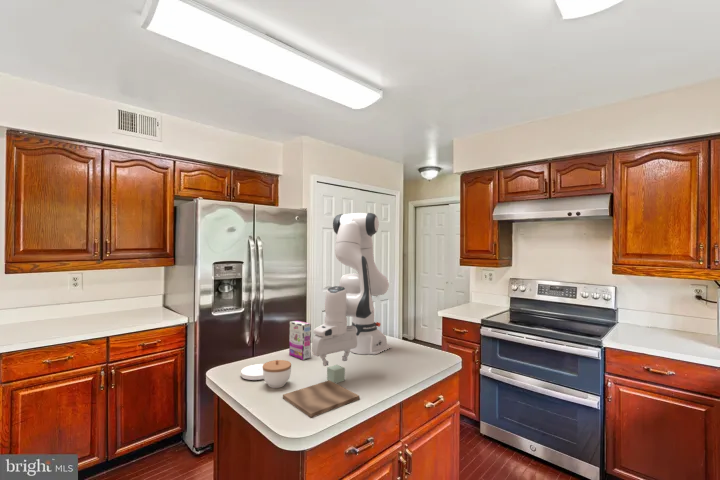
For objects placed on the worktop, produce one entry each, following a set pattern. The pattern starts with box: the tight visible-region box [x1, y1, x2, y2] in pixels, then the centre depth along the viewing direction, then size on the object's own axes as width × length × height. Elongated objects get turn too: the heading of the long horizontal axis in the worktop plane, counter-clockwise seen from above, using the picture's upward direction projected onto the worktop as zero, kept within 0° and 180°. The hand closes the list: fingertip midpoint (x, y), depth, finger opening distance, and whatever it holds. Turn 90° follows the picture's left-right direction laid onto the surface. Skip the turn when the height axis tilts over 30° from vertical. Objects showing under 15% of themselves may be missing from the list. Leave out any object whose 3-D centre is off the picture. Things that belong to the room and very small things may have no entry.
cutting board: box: [282, 380, 360, 418], centre depth 122 cm, size 20×18×1 cm
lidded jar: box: [263, 359, 292, 389], centre depth 134 cm, size 11×11×9 cm
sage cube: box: [326, 364, 346, 384], centre depth 139 cm, size 5×5×5 cm
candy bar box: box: [288, 320, 312, 361], centre depth 167 cm, size 11×5×16 cm, turn 47°
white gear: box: [240, 363, 265, 381], centre depth 144 cm, size 14×14×2 cm
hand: (335, 363), depth 138 cm, fingers open, 8 cm apart
